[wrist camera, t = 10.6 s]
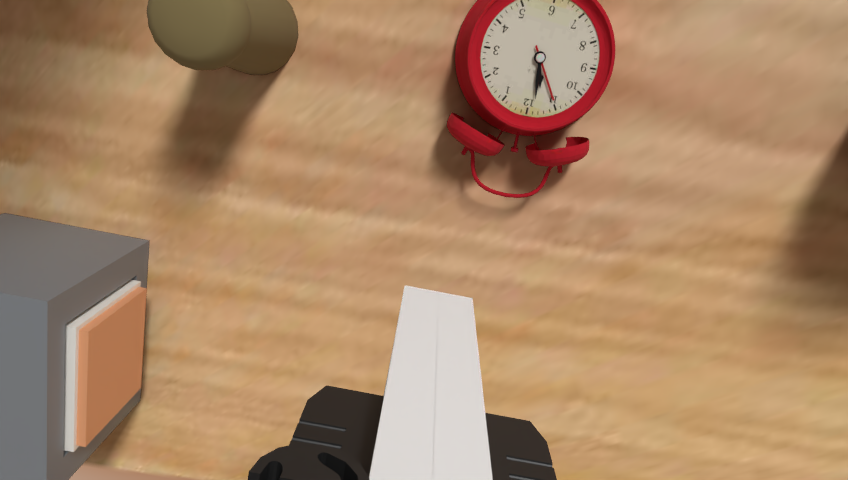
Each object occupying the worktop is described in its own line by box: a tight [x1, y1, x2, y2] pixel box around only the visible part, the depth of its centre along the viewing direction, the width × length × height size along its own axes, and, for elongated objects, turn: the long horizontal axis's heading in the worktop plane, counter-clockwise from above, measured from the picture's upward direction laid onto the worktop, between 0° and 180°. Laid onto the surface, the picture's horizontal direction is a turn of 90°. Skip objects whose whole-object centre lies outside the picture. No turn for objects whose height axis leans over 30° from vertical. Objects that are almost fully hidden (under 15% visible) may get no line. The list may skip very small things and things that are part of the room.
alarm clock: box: [447, 0, 615, 198], centre depth 39 cm, size 10×6×15 cm
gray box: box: [0, 213, 149, 480], centre depth 41 cm, size 11×14×12 cm
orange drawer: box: [64, 280, 147, 452], centre depth 41 cm, size 8×9×8 cm
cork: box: [147, 0, 298, 75], centre depth 35 cm, size 6×6×11 cm
